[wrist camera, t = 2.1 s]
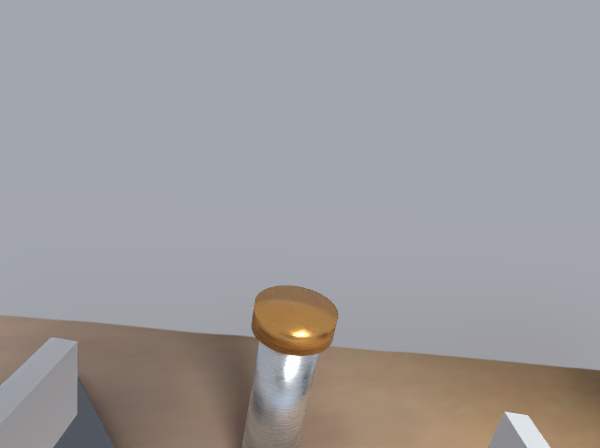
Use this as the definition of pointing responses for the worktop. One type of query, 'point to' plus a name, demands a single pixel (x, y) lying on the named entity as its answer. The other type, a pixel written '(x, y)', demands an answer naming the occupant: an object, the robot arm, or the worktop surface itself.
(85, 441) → the plate
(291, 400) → the steel pin
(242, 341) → the worktop surface
